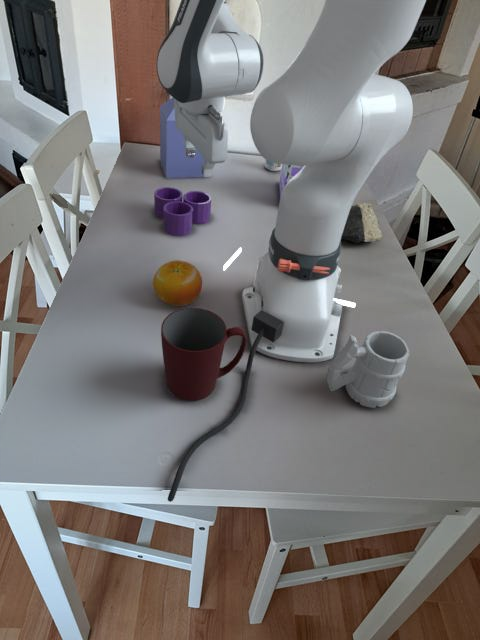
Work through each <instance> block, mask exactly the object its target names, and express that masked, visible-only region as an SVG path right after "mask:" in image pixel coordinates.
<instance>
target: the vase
mask: <svg viewBox="0 0 480 640" xmlns="http://www.w3.org/2000/svg"><path fill="white" fill-rule="evenodd" d="M185 148H186V147H185V143H184V138H183V133H182V132H181V131H180V130H179V129H178V128H177V126H176V123H175V114H174V98H173V97H171V98H170V99H168V100H167V101H165V102H164V103H162V104H161V105H160V106H159V157H160V158H159V162H160V164H161V168H162V170H163V173H164V175H165V178H166V179H176V178H177V179H180V178H181V179H182V178H184V179H185V178H205V177H204V175H203V174H202V166H204V163H205V161H204V157H203V156H202V155H201V154H200V152H199V151H198V150H197V149H196V148H195V147H194V148H195V157H193V158H192V157H191V158H189V157H188V156H187V155H186V154H185Z"/></svg>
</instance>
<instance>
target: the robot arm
mask: <svg viewBox="0 0 480 640" xmlns="http://www.w3.org/2000/svg"><path fill="white" fill-rule="evenodd" d="M426 2H427V0H325V1H324V5H323V7H322V10H321V13H320V15H319V17H318V19H317V22H316V24H315V25H314V28H313V29H312V31H311V33H310V35H309V37H308V38H307V40H306V42H305V43H304V44H303V47H302V48H301V49H300V51H299V53H298V54H297V55H296V56H295V58H294V59H293V61H292V62H291V63H290V64H289V66H288V67H287V69H285V71H283V72H282V74H281V75H280V76H279V77H277V78H276V79H275V80H274V81H272V82H271V83H270V84H268V85H267V86H266V87H265V88H263V89H262V90H261V91H260V92H259V94H258V95H257V96H256V99H255V101H254V103H253V105H252V108H251V113H250V120H249V127H250V128H249V129H250V135H251V138H252V142H253V144H254V147H255V148H256V150H257V152H258V153H259V154H260V155H261V156H262V158H263V159H264V160H265V161H266V160H267V161H269V162H271V163H276V164H284V165H296V166H303V165H305V166H304V167H303V168H302V169H301V170H300V171H299V172H298V173H297V174H296V175H295V176H294V177H292V178H291V179H290V180H289V181H288V183H287V184H286V185H285V187H284V189H283V191H282V193H281V198H279V203H278V209H277V216H276V221H275V225H274V226H275V227H273V229H272V231H271V235H270V237H269V242H268V251H267V252H266V253H265V254H264V255H262V256H260V257H259V258H258V259H257V265H256V271H255V275H254V281H253V286H250V287H246V288H245V289H243V290H242V294H241V299H242V305H243V310H244V315H245V322H246V327H247V331H248V337H249V342H250V347H251V348H250V350H249V354H248V358H247V362H246V368H245V372H244V375H243V380H242V387H241V393H240V398H239V401H238V402H237V405H236V407H235V408H234V410H233V412H232V413H231V415H230V416H229V417H227V419H226V420H224V421H223V422H222V423H221V424H218V425H217V426H216V427H214V428H212V429H210V430H209V431H208V432H206V433H205V434H203V435H201V436H200V437H199V438H198V439H197V440H196V441H195V442H194V443H193V444H192V445H191V446H190V447H189V449H188V450H187V451H186V453H185V454H184V456H183V457H182V459H181V461H180V463H179V464H178V467H177V470H176V473H175V475H174V478H173V481H172V485H171V487H170V490H169V492H168V495H167V501H168V502H169V503H170V502H173V501H174V500H175V498H176V494H177V491H178V489H179V485H180V483H181V480H182V477H183V474H184V471H185V468H186V466H187V464H188V463H189V460H190V459H191V457H192V455H193V454H194V453H195V451H196V450H197V449H198V448H199V447H200V446H201V445H202V444H203V443H205V442H206V441H207V440H209V439H210V438H212V437H213V436H215V435H217V434H218V433H220V432H221V431H222V430H224V429H226V428H227V427H228V426H229V425H231V424H232V423H233V422H234V421H235V420H236V418H237V417H238V416H239V415H240V413H241V411H242V410H243V407H244V404H245V402H246V398H247V392H248V385H249V380H250V374H251V370H252V365H253V361H254V357H255V354H256V352H258V353H260V354H262V355H264V356H266V357H267V356H268V357H270V358H274V359H277V360H278V359H279V360H282V361H288V362H297V363H322V362H327V361H329V360H332V359H333V358H334V356H335V350H336V346H337V345H336V344H337V339H338V334H339V327H340V321H341V316H342V311H343V306H344V307H345V306H346V307H350V308H354V309H355V307H356V305H357V304H356V302H352V301H349V300H344V299H339V298H338V297H335V294H336V293H339V294H340V293H341V292H342V289H343V285H342V284H339V283H338V281H339V278H340V275H341V272H342V269H341V268H340V266H339V265H338V263H339V260H340V256H341V249H342V241H341V240H342V239H341V237H342V233H343V230H344V227H345V224H346V221H347V218H348V215H349V212H350V209H351V206H353V204H354V201H355V199H356V198H357V196H358V194H359V192H360V190H361V189H362V188H363V185H364V184H365V183H366V181H367V179H368V178H369V176H371V174H372V172H373V170H374V169H375V167H377V165H378V164H379V162H380V161H381V160H382V158H383V157H384V156H385V154H387V153H388V152H389V151H390V150H391V149H393V147H395V146H396V145H397V144H398V143H399V142H401V140H402V139H403V138H404V137H405V136H406V134H407V133H408V131H409V129H410V127H411V124H412V121H413V115H414V104H413V100H412V99H413V98H412V96H411V92H410V91H409V89H408V88H407V86H406V85H405V84H404V83H403V82H401V81H400V80H398V79H395V78H391V77H389V76H385V75H381V74H377V71H379V69H381V67H382V66H383V65H384V64H385V63H386V62H388V61H389V60H390V59H391V58H393V57H394V56H396V55H397V54H398V53H400V51H401V50H403V48H405V46H406V45H407V44H408V42H409V41H410V40H411V37H412V36H413V33H414V31H415V29H416V26H417V24H418V21H419V18H420V16H421V14H422V12H423V10H424V7H425V4H426ZM175 14H176V15H175V16H174V19H173V22H172V24H171V26H170V28H169V30H168V32H167V33H166V35H165V37H164V38H163V40H162V42H161V44H160V47H159V49H158V52H157V56H156V74H157V78H158V81H159V84H160V85H161V87H162V89H164V91H165V92H166V93H167V94H168V95H169V96H170V97H171V98H174V114H175V123H176V126H177V128H178V129H179V130H180V131H181V132H182V133H183V138H184V143H185V147H186V148H185V154H186V155H187V156H188V157H189V158H191V157H192V158H193V157H195V148H196V149H197V150H198V151H199V152H200V154H201V155H202V156H203V157H204V161H205V163H204V166H202V174H203V175H204V177H203V178H210V177H212V176H213V169H214V167H215V165H216V164H223V163H225V162H226V160H227V158H228V147H229V146H228V145H229V144H228V143H229V132H228V131H229V130H228V125H227V123H226V122H225V120H224V119H223V114H222V112H223V111H224V109H225V101H226V98H227V97H234V96H235V97H236V96H242V95H246V94H251V93H252V92H254V91H255V90H256V88H257V87H258V85H259V84H260V82H261V80H262V77H263V73H264V66H265V65H264V61H265V60H264V54H263V50H262V47H261V45H260V43H259V42H258V41H257V39H256V38H255V37H254V36H253V35H251V34H248V33H246V31H245V30H244V29H243V28H241V26H240V25H239V24H238V23H237V21H236V20H235V18H234V16H233V14H232V10H231V7H230V4H229V3H228V2H226V0H180V3H179V5H178V8H177V10H176V13H175ZM194 147H195V148H194ZM241 253H242V247H239V248H238V249H237V250H236V251H235V253H234V254H233V255H232V256H231V257H230V258H229V259H228V260H227V261H226V262H225V264H224V265H223V268H222V270H223V271H226V270H227V268H228V267H229V266H231V264H232V263H233V262H234V261H235V259H237V257H238V256H239V255H241Z"/></svg>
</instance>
